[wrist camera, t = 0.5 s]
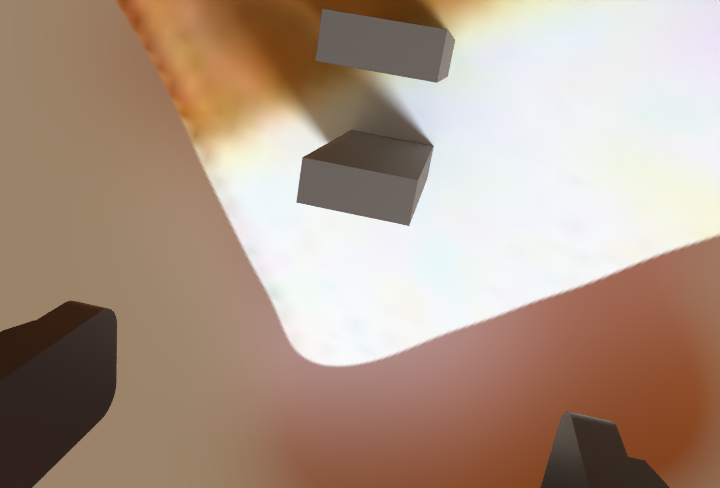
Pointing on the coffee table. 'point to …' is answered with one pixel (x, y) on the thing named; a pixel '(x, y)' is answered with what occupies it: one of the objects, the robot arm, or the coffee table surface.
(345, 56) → the domino
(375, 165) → the domino
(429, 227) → the coffee table surface
